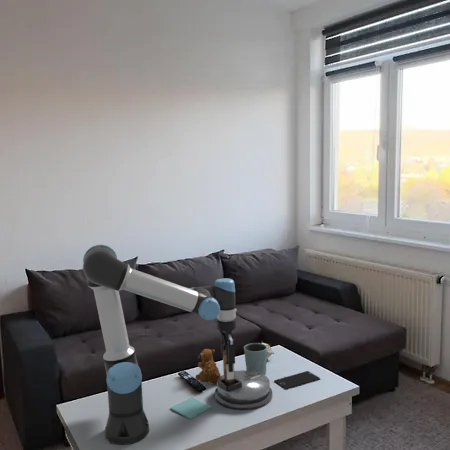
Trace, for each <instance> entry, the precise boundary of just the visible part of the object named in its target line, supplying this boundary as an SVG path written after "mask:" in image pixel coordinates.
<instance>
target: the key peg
mask: <svg viewBox="0 0 450 450" xmlns="http://www.w3.org/2000/svg"><path fill="white" fill-rule="evenodd" d="M222 355H223V357H222V363H223V362H224V371H223V375H224V379H225V385H227V386H230V385H233V384H235V375H234V379H230V380H227V370H226V364H225V363H226V362H227V357H226V349H224V350H223V354H222Z"/></svg>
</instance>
